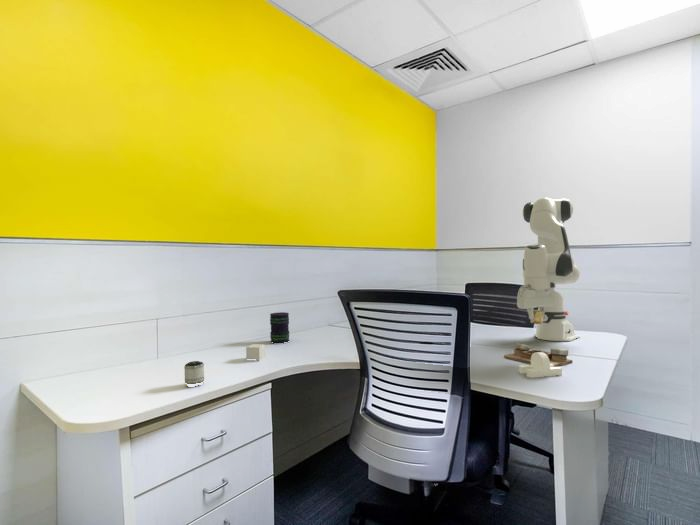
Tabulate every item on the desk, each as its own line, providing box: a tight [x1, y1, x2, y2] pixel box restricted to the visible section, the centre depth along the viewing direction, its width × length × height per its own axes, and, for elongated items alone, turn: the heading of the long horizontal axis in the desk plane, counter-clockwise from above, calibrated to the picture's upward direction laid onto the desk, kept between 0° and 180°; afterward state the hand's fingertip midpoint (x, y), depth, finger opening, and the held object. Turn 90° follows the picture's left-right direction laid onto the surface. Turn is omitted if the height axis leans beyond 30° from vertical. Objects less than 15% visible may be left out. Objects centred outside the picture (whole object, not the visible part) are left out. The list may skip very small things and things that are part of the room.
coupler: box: [530, 309, 543, 325], centre depth 156 cm, size 4×4×5 cm
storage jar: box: [269, 311, 290, 344], centre depth 202 cm, size 10×10×15 cm
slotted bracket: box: [518, 351, 563, 379], centre depth 138 cm, size 13×7×8 cm, turn 101°
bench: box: [503, 342, 573, 367], centre depth 156 cm, size 15×20×5 cm
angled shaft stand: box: [550, 348, 569, 362], centre depth 152 cm, size 4×6×4 cm, turn 60°
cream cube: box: [245, 343, 266, 360], centre depth 167 cm, size 6×6×6 cm
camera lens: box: [183, 360, 205, 384], centre depth 133 cm, size 6×6×8 cm
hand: (536, 318), depth 156 cm, fingers closed on coupler, 4 cm apart
